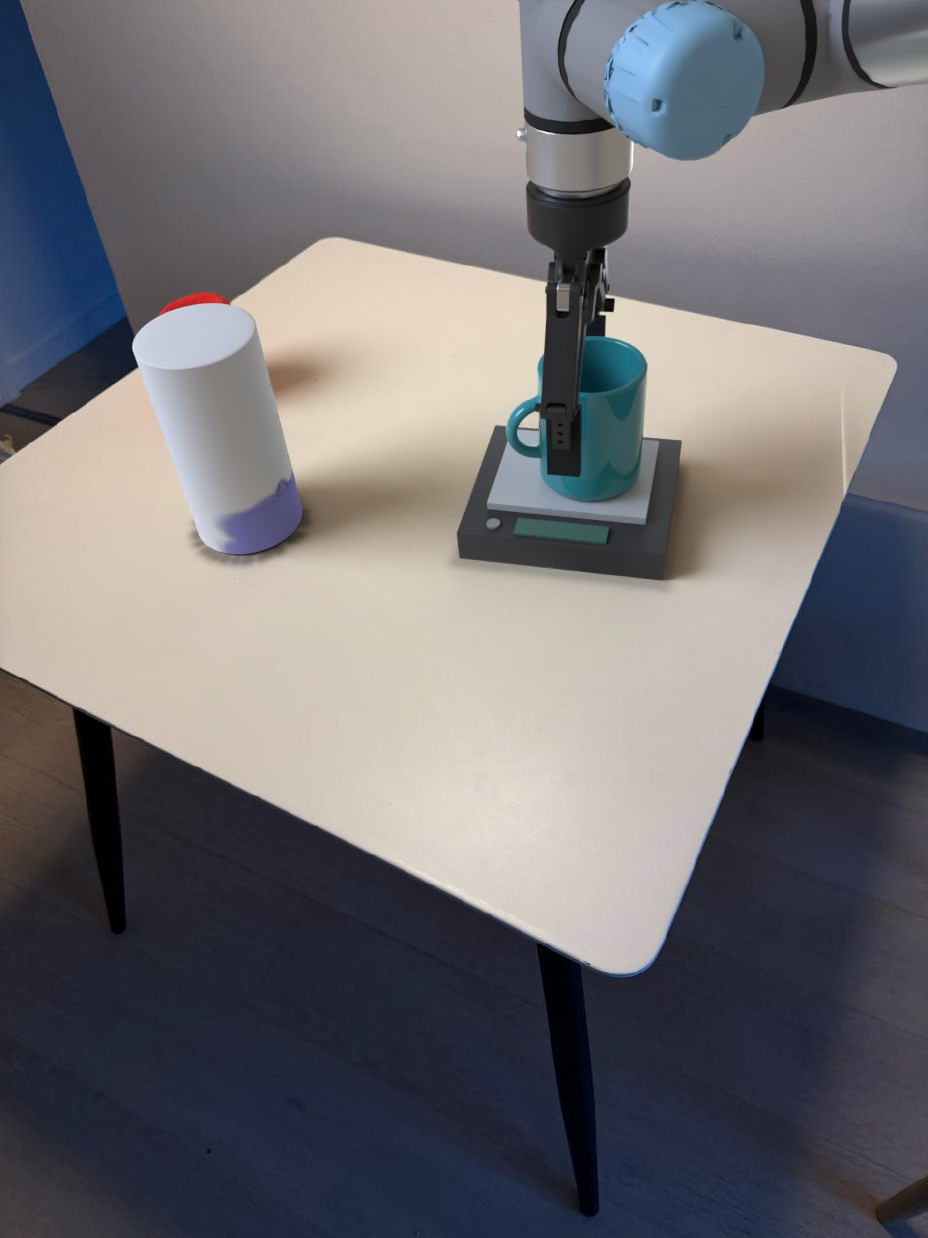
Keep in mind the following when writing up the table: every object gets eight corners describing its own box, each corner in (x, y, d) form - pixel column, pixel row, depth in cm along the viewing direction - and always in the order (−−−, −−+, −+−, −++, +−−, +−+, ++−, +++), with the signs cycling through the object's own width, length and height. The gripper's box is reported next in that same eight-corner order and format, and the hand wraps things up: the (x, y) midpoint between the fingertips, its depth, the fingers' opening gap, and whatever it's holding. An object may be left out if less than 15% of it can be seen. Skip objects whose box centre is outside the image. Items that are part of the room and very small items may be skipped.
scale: (679, 465, 95) (682, 432, 92) (662, 580, 85) (665, 548, 82) (496, 449, 99) (494, 417, 96) (459, 558, 89) (455, 526, 86)
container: (238, 477, 99) (181, 292, 85) (322, 500, 96) (279, 312, 81) (177, 540, 93) (105, 353, 79) (264, 567, 90) (206, 376, 75)
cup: (498, 457, 92) (491, 351, 84) (622, 434, 93) (628, 327, 85) (521, 519, 86) (516, 411, 78) (654, 494, 87) (663, 384, 79)
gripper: (556, 111, 80) (558, 346, 95) (489, 257, 63) (505, 513, 78) (650, 111, 78) (637, 350, 93) (606, 261, 62) (599, 522, 77)
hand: (577, 425), depth 86 cm, fingers open, 13 cm apart
